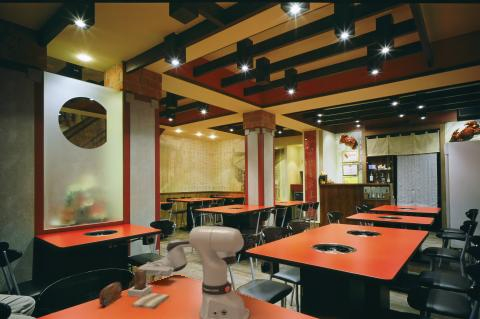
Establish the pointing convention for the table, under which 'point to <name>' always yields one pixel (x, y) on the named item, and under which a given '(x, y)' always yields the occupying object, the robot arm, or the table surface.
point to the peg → (140, 279)
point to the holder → (139, 291)
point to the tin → (110, 294)
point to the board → (150, 300)
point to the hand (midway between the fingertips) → (147, 275)
